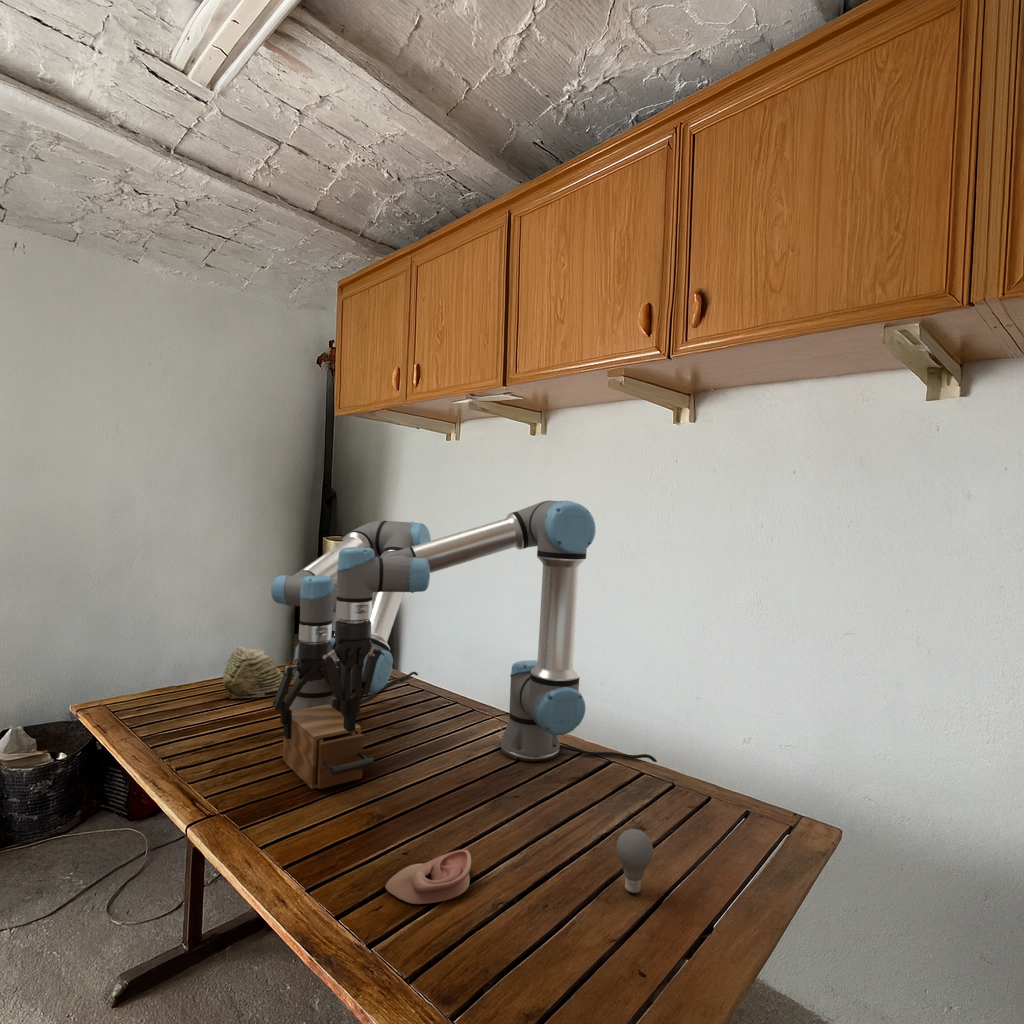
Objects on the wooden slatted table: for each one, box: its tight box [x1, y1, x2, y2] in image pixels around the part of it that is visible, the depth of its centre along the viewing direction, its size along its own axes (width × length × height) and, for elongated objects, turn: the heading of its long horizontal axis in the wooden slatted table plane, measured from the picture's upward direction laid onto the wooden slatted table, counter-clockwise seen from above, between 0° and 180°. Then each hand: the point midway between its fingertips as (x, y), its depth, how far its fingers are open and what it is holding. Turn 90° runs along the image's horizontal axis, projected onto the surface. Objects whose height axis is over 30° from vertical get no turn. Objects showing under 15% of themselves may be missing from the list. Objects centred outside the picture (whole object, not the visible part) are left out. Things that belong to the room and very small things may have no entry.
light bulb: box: [615, 828, 654, 894], centre depth 106 cm, size 6×6×10 cm
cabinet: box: [282, 704, 362, 790], centre depth 147 cm, size 18×11×12 cm, turn 39°
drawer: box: [316, 732, 375, 790], centre depth 142 cm, size 23×10×10 cm, turn 39°
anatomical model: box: [385, 849, 472, 905], centre depth 105 cm, size 13×4×12 cm
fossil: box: [222, 646, 284, 699], centre depth 198 cm, size 9×18×15 cm, turn 132°
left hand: (311, 732), depth 152 cm, fingers closed on cabinet, 11 cm apart
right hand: (349, 729), depth 136 cm, fingers closed
